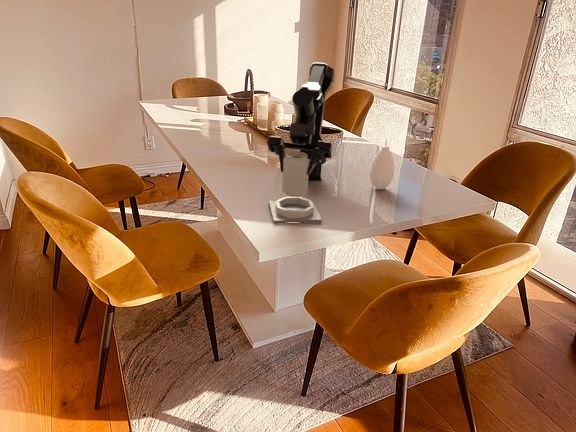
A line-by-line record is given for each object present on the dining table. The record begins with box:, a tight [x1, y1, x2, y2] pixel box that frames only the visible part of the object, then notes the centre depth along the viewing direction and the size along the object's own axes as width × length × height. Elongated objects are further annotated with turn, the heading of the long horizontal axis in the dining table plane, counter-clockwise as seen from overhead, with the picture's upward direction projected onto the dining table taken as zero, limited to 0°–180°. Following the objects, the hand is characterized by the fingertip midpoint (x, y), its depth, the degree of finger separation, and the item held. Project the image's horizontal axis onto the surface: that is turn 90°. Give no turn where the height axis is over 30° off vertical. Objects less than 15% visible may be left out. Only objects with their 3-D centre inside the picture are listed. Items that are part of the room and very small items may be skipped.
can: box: [281, 151, 309, 197], centre depth 130 cm, size 8×8×12 cm
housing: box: [268, 196, 322, 224], centre depth 135 cm, size 14×14×3 cm
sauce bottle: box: [369, 138, 395, 190], centre depth 152 cm, size 8×8×18 cm
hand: (294, 173), depth 128 cm, fingers closed on can, 7 cm apart
